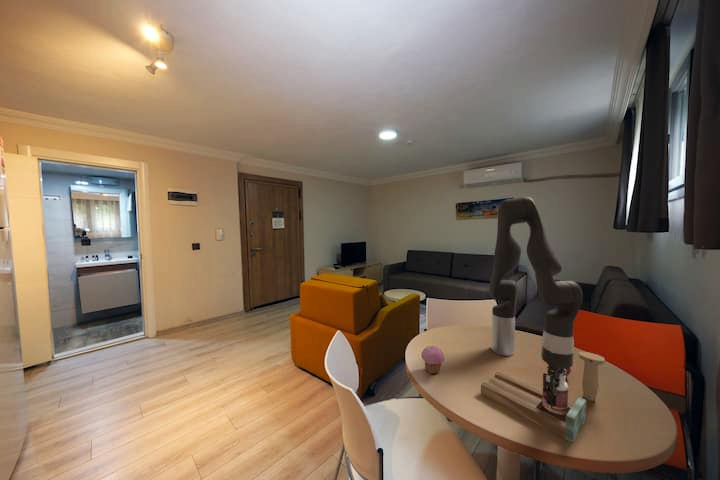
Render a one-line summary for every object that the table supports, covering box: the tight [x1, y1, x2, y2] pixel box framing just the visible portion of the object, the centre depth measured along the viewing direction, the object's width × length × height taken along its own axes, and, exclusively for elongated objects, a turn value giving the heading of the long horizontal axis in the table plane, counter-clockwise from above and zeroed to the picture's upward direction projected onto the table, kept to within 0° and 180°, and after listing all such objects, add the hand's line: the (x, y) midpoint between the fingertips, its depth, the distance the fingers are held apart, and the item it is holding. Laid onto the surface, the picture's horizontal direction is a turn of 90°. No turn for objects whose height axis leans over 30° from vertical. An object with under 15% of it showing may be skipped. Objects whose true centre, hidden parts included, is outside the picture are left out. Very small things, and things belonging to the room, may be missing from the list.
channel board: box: [480, 371, 587, 444], centre depth 86 cm, size 12×26×7 cm, turn 37°
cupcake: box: [421, 345, 445, 374], centre depth 106 cm, size 9×9×10 cm
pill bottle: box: [542, 372, 569, 416], centre depth 80 cm, size 6×6×11 cm
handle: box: [578, 351, 606, 402], centre depth 89 cm, size 5×6×15 cm
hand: (554, 399), depth 80 cm, fingers closed on pill bottle, 6 cm apart
